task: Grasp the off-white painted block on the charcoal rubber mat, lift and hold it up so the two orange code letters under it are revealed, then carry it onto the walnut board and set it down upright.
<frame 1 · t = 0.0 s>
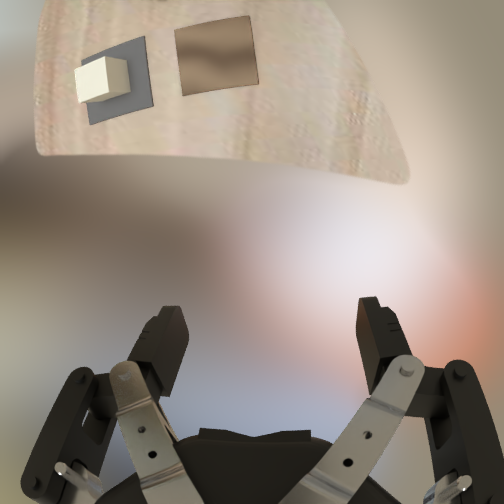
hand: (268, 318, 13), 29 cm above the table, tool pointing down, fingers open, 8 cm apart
walnut board: (215, 54, 32), on the table
white block: (113, 80, 34), resting on code mat
code mat: (115, 80, 34), on the table
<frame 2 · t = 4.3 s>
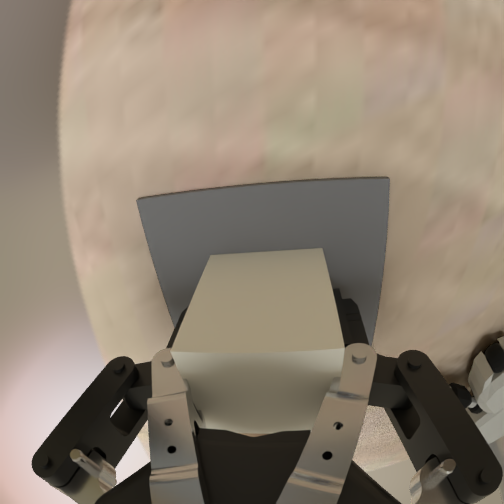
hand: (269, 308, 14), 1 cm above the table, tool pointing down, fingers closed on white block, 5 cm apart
robot toy: (492, 372, 18), on the table
white block: (270, 297, 14), resting on code mat, touching gripper
code mat: (270, 293, 15), on the table
when the fingers open (3 cm above the table, at t = 12.8 s): white block drops 1 cm, resting on walnut board.
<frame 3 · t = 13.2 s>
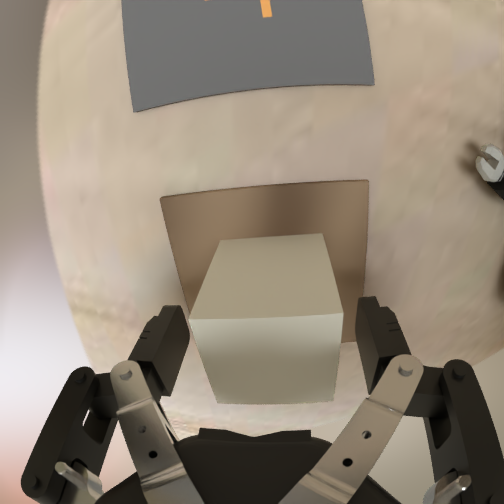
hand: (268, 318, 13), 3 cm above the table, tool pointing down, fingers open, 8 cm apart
walnut board: (271, 277, 16), on the table
white block: (275, 280, 16), resting on walnut board
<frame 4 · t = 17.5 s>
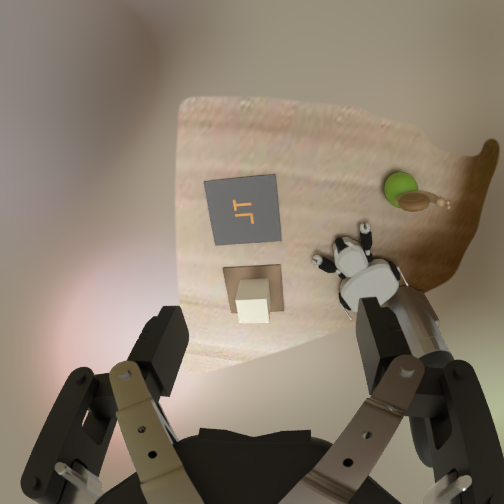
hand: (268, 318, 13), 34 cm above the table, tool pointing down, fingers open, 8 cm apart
snail figurine: (397, 184, 42), on the table
robot toy: (357, 265, 50), on the table
walnut board: (254, 289, 54), on the table
white block: (255, 290, 53), resting on walnut board
code mat: (243, 211, 47), on the table
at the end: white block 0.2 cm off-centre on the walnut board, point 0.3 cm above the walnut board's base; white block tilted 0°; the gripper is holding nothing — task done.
